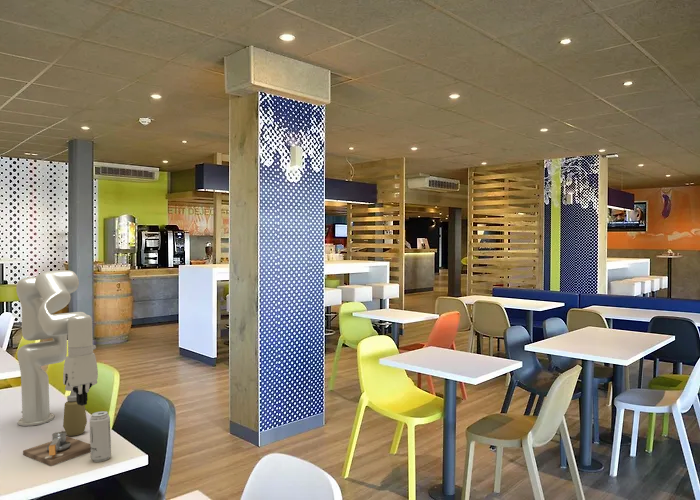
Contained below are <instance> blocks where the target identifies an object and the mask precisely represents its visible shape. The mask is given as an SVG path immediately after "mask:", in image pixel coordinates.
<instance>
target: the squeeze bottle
mask: <svg viewBox="0 0 700 500" xmlns="http://www.w3.org/2000/svg"><path fill="white" fill-rule="evenodd" d="M66 398H67V399H66V400H67V401H66V402H64V408H63V421H62V427H63V429H64V432H66V436H68V437H74V436H78V435H82V434H83V433H84V432H85V430H86V427H87V423H88V420H87V412H86V405H83V406H81V405H78V404H77V401H76V393H75V392H74V391H70V394H69V395H67V396H66Z"/></svg>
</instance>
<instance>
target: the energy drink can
mask: <svg viewBox="0 0 700 500" xmlns="http://www.w3.org/2000/svg"><path fill="white" fill-rule="evenodd" d="M108 413H109V412H108V411H106V410H105V411H103V410H101V411H95V412H93V413H92V414H91V416H90V418H89V440H90V443H89V444H90V446H91V452H90V458H91V460H92V461H93V462H95V463H101V462H105V461H107V460H109V459H110V457H111V456H112V440H111V438H112V437H111V436H112V435H111V418H110V415H109V414H108Z"/></svg>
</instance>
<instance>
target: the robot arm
mask: <svg viewBox="0 0 700 500" xmlns="http://www.w3.org/2000/svg"><path fill="white" fill-rule="evenodd" d="M79 282H80V280H79V276H78V275H77V274H76V272H74V271H72V270H53V271H52V270H50V271H43V272H41V273H39V274H38V275H37V276H28V277H23V278H21V279H19V280H18V281H17V283H16V289H15V290H16V295H17V298H18V299H19V302H20V306H21V335H22V338H23V339H24V340H26V341H38V342H32V343H27V344H24V345H22V346H20V348H18V350H17V353H16V354H17V356H16V357H17V361H18V365H19V371H20V383H21V384H20V385H21V386H20V387H21V389H20V390H21V408H22V409H21V411H20V413H21V415H22V418H20V419H18V420H17V424H18V425H19V426H21V427H32V426H33V427H34V426H38V425H43V424H45V423H48V422H51V421H53V420H54V419H55V415H54V414H53V413H51V412H50V408H51V407H50V385H49V384H50V383H49V375H48V373H47V372H46V371H45V370H44V369H43V368H42V366H47V365H54V364H59V363H63V362H64V364H63V372H62V373H63V376H62V377H63V378H62V382H63V385H64V386H65V388H64V390H65V391H67V392H71V391H74V392H75V393H76V401H77V404H78V405H81V406H83V405H85V406H86V405H88V393H89V392H90V389H91V388H92V387H93V386H95V385H96V384H98V379H99V378H98V377H99V374H98V373H99V372H98V371H99V369H98V363H97V357H96V354H95V353H94V350H95V349H97V345H95V344H93V318H92V315H89V314H87V313H86V312H83V311H74V312H63V313H57V312H58V311H59V312H60V310H63V309H64V308H65V307H67V305H69V303H70V301H71V294H72V293H74V292H76V291H77V290H78V288H79V286H80V283H79ZM55 313H56V314H55ZM49 339H52V340H49ZM40 340H47V341H40ZM67 355H68V356H67Z"/></svg>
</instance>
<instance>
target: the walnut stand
mask: <svg viewBox="0 0 700 500" xmlns="http://www.w3.org/2000/svg"><path fill="white" fill-rule="evenodd" d="M52 441H53V440H52ZM52 441H48V442H45V443H42V444H39V445H36V446H33V447H30V448H26V449H23V451H22V455H23V456H25V457H27V458H30V459H33V460H34V461H35V460H36V461H37V462H40V463H43V464H45V465H47V466H50V467H52V466H55V465H58V464H60V463H64V462H66V461H68V460H71V459H72V460H73V459H75V458H78V457H80V456H83V455H86V454H88V453H91V446H90V443H89V442H86V441H82V440H79V439H78V438H77V439H76V438H73V437H72V436H68V435H66V441H67V442H70V448H68V449H66V450H64V451H60V452H56V454H55V455H50V456H49V452H48V451H47V446H49V445H50V444H51V443H52Z"/></svg>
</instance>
